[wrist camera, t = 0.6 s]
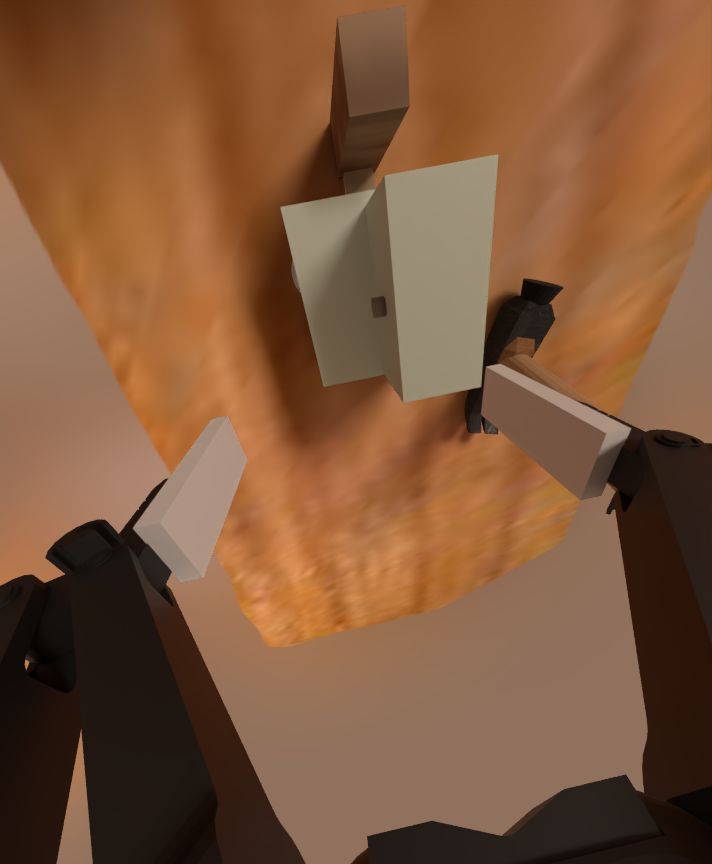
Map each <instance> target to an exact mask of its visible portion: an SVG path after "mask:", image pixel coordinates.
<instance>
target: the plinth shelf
mask: <svg viewBox="0 0 712 864" xmlns="http://www.w3.org/2000/svg"><path fill="white" fill-rule="evenodd" d="M497 166H498V154H497V155H492V156H486V157H481V158H476V159H470V160H465V161H460V162H454V163H449V164H444V165H438V166H433V167H428V168H422V169H417V170H411V171H406V172H401V173H395V174H390V175H385V176H384V177H383V179H382V180H381V182H380V184H379V185H378V187H377V188H376V189H374V190H368V191H363V192H358V193H352V194H347V195H342V196H336V197H331V198H326V199H320V200H315V201H310V202H304V203H299V204H294V205H288V206H283V207H280V208H281V212H282V216H283V220H284V225H285V229H286V233H287V237H288V241H289V245H290V250H291V254H292V258H293V262H294V266H295V270H296V274H297V279H298V283H299V287H300V291H301V295H302V299H303V303H304V308H305V312H306V316H307V320H308V324H309V328H310V332H311V337H312V341H313V345H314V349H315V353H316V357H317V361H318V366H319V370H320V374H321V378H322V382H323V386H324V387H327V386H332V385H337V384H342V383H347V382H351V381H356V380H361V379H366V378H371V377H376V376H381V375H385V376H386V378H387V379H388V381H389V382H390V384H391V385H392V387H393V388H394V390H395V391H396V393H397V394H398V395H399V397H400V398H401V400H402V401H403V403H405V402H410V401H415V400H420V399H425V398H430V397H434V396H439V395H444V394H449V393H454V392H459V391H464V390H469V389H473V388H478V387H481V381H482V367H483V354H484V340H485V327H486V314H487V300H488V287H489V273H490V260H491V246H492V233H493V219H494V206H495V192H496V179H497Z"/></svg>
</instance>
